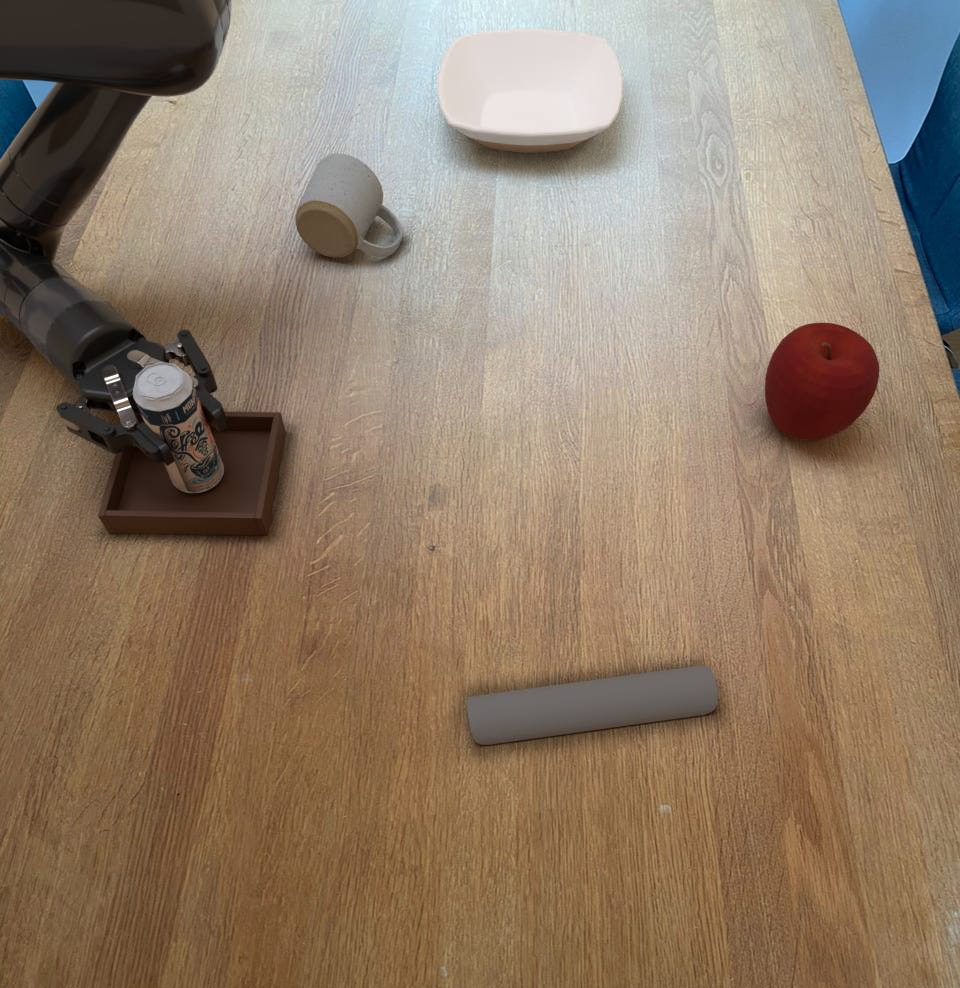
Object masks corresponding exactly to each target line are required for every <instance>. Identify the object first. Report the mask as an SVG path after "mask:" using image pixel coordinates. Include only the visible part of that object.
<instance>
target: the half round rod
mask: <svg viewBox="0 0 960 988" xmlns="http://www.w3.org/2000/svg"><path fill="white" fill-rule="evenodd" d="M718 691H719V690H718V686H717V682H716V679H715V675H714V673H713V671H712V669H711V668H710V667H709V666H708V665H704V664H702V665H694V666H687V667H680V668H679V667H678V668H671V669H664V670H657V671H650V672H649V671H648V672H643V673H633V674H627V675H620V676H612V677H611V676H610V677H604V678H598V679H590V680H581V681H574V682H568V683H560V684H552V685H544V686H539V687H531V688H523V689H515V690H508V691H501V692H494V693H486V694H479V695H478V694H477V695H472V696H467V697H466V699H465V700H466V704H465V705H466V713H467V717H468V718H467V720H468V724H469V725H468V726H469V729H470V734H471V736H472V738H473V740H474V742H475V743H477V744H479V745H483V746H484V745H485V746H491V745H497V744H503V743H511V742H517V741H518V742H519V741H524V740H532V739H541V738H547V737H553V736H561V735H562V736H563V735H570V734H575V733H576V734H577V733H582V732H589V731H596V730H598V731H599V730H605V729H612V728H620V727H625V726H627V727H628V726H632V725H633V726H634V725H640V724H648V723H654V722H662V721H671V720H677V719H684V718H690V717H691V718H692V717H698V716H705V715H707V714H710V713H712V712H713V711H714V710H716V708H717V706H718V702H719V693H718Z"/></svg>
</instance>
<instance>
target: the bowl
mask: <svg viewBox="0 0 960 988" xmlns="http://www.w3.org/2000/svg"><path fill="white" fill-rule="evenodd" d="M623 93H624V77H623V72H622V67H621V63H620V61H619V58H618V56H617V53H616V51H615V50H614V48H613V47H612V46H611V45H610V43H609V42H608V41H607V40H606V39H605V38H604V37H601V36H598V35H597V36H596V35H592V34H588V33H585V32H576V31H568V30H567V31H566V30H556V29H539V28H520V29H517V28H516V29H499V30H497V29H496V30H485V31H478V32H474V33H468V34H463V35H460V36H458V37H456V38H455V40H454V41H453V42H452V43H451V45H450V46H449V47H448V48H447V49H446V50H445V52H444V56H443V58H442V60H441V63H440V67H439V71H438V75H437V100H438V104H439V110H440V112H441V114H442V115H443V117H444V119H445V121H446V122H447V124H448V125H449V126H450V127H452V128H453V129H455V130H456V131H458V132H459V133H462V134H463V135H465V136H466V137H468V138H470V139H471V140H474V141H475V142H476V143H478V144H480V145H481V146H483V147H485V148H487V149H491V150H499V151H505V152H511V153H512V152H513V153H524V154H525V153H526V154H530V153H531V154H532V153H533V154H534V153H535V154H536V153H549V152H559V151H565V150H569V149H572V148H574V147H576V146H577V145H580V144H581V143H583V142H585V141H587V140H589V139H591V138H593V137H595V136H596V135H599V134H600V133H602V132H604V131H606V130H607V129H609V128H610V127H611V126H612V125H613V123H614V122H615V120H616V118H617V117H618V115H619V114H620V110H621V106H622V102H623Z"/></svg>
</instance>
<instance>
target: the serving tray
mask: <svg viewBox="0 0 960 988" xmlns="http://www.w3.org/2000/svg"><path fill="white" fill-rule="evenodd" d="M224 412H225V415H226V418H227V420H225V424H226V428H224V429H223V430H221V431H220V432H219V431H218V430H216V429H215V428H214V427H213V426H212V425H211V424H210V423H209V422H208V421H207V422H208V425H209V428H210V430H211V433H212V436H213V438H214V441H215V444H216V446H217V449H218V452H219V454H220V457H221V460H222V463H223V466H224V473H223V476H222V478H221V480H220V481H219V482H218V484H217V485H215V486H214V487H213V488H211V489H209V490H207V491H204V492H201V493H186V492H183V491H181V490H179V489H177V488H176V487H175V486H174V485H173V483H172V481H171V479H170V477H169V474H168V472H167V470H166V468H165V466H164V463H163V462H161V463H160V464H157V463H154V462H153V461H152V460H151V459H150V458H149V457H148V456H147V455H145V454H144V453H143V452H142V451H141V450H140V449H139V448H138V447H136V446H133V445H128V446H125V447H124V449H123V451H122V452H120V453H118V454H114V458H113V462H112V465H111V469H110V472H109V475H108V479H107V483H106V486H105V489H104V492H103V497H102V500H101V504H100V506H99V510H98V514H97V516H98V518H99V520H100V521H101V523H102V525H103V527H104V528H105V530H106V532H107V533H108V534H142V535H143V534H144V535H145V534H150V535H200V536H202V535H204V536H207V535H208V536H259V537H260V536H261V537H262V536H263V537H266V536H267V537H268V534H269V528H270V523H271V517H272V513H273V506H274V501H275V494H276V489H277V484H278V483H277V482H278V477H279V472H280V466H281V462H282V461H281V459H282V454H283V449H284V444H285V438H286V432H287V431H286V427H285V424H284V419H283V416H282V412H280V411H274V412H273V411H224ZM136 416H137V418H138V421H139V423H142V422H144V420H143V417H142V415H141V413H140V412H138V413H137V414H136ZM144 423H145V422H144Z"/></svg>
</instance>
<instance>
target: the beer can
mask: <svg viewBox="0 0 960 988" xmlns="http://www.w3.org/2000/svg"><path fill="white" fill-rule="evenodd" d="M190 376H191V375H189V374H188V373H187V372H186V371H184V370H183V369H181V368H180V367H179V366H178V365H177V364H176V363H170V362H169V363H164V362H159V363H156V364H152V365H149V366H146V367H145V368H144V369H143V370H142V371H141V372H140V373H139V374H137V375H136V380H135V385H134V388H133V397H134V400H135V402H136V404H137V406H138V409H139V411H140V413H141V415H142V417H143V420H144V422H145V424H146V425H147V426H148V427H149V428H150V429H151V430H152V431H153V432H154V433H155V434H156V435H157V436H159V437H160V438H161V439H162V440H163V441H164V442H165V443H166V444H167V445H168V447H169V448H170V450H171V453H172V455H173V457H174V460H175V462H173V463H172V464H170V465H169V466H167V465H166V464H165V463H164V462H163V463H164V466H165V468H166V470H167V472H168V474H169V477H170V479H171V481H172V483H173V485H174V486H175V487H176V488H177V489H179V490H181V491H183V492H186V493H201V492H204V491H207V490H209V489H211V488H213V487H214V486H215V485H217V484H218V482H219V481H220V480H221V478H222V476H223V473H224V466H223V463H222V460H221V457H220V454H219V452H218V449H217V446H216V444H215V441H214V438H213V436H212V433H211V430H210V428H209V425H208V422H207V420H206V417H205V414H204V411H203V409H202V406H201V403H200V401H199V398H198V395H197V393H196V390H195V387H194V385H193V382H192V380H191V378H190Z"/></svg>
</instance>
